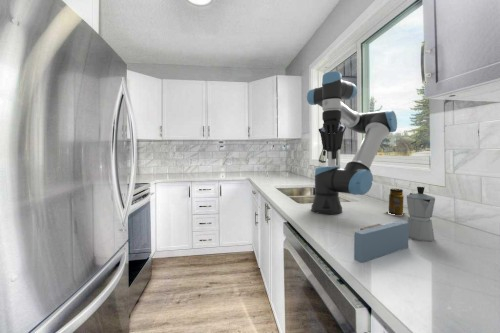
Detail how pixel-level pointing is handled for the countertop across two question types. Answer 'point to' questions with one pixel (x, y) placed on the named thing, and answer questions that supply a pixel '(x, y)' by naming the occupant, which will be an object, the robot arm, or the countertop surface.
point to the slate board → (380, 240)
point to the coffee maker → (420, 216)
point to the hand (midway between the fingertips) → (331, 166)
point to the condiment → (396, 202)
